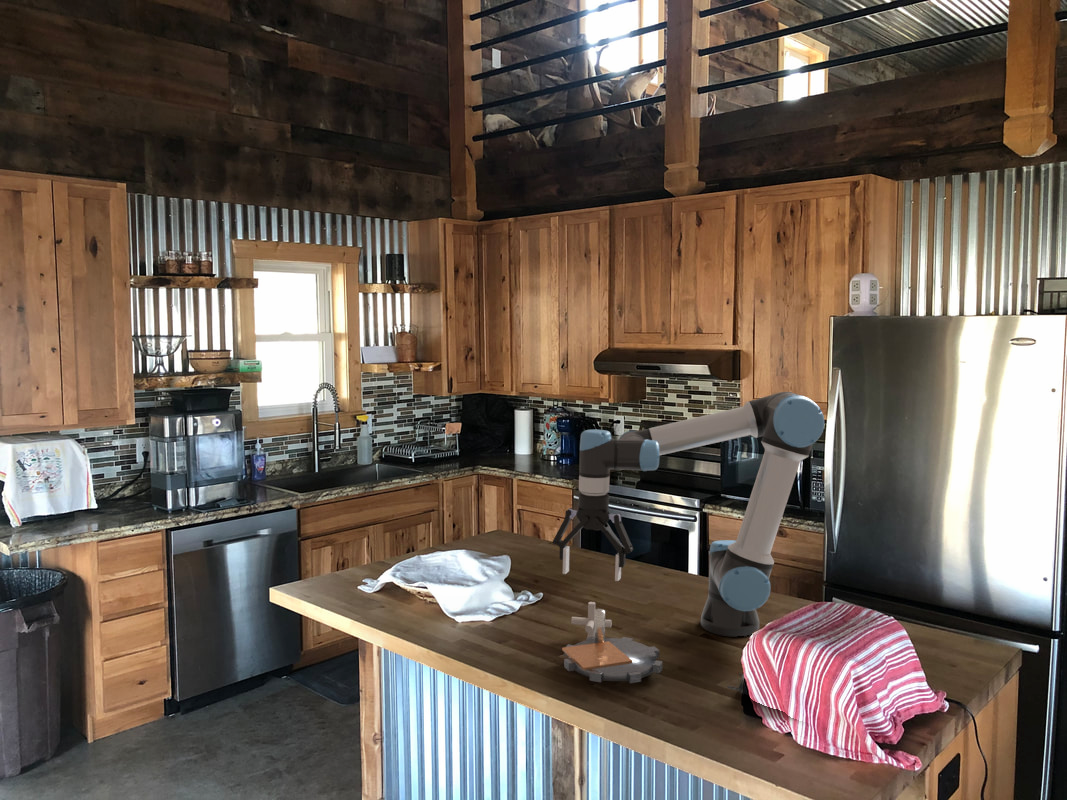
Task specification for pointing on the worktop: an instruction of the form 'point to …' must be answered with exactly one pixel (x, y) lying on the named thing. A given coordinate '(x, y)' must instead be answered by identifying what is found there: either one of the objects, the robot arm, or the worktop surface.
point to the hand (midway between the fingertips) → (591, 576)
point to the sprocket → (611, 656)
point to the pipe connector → (589, 620)
